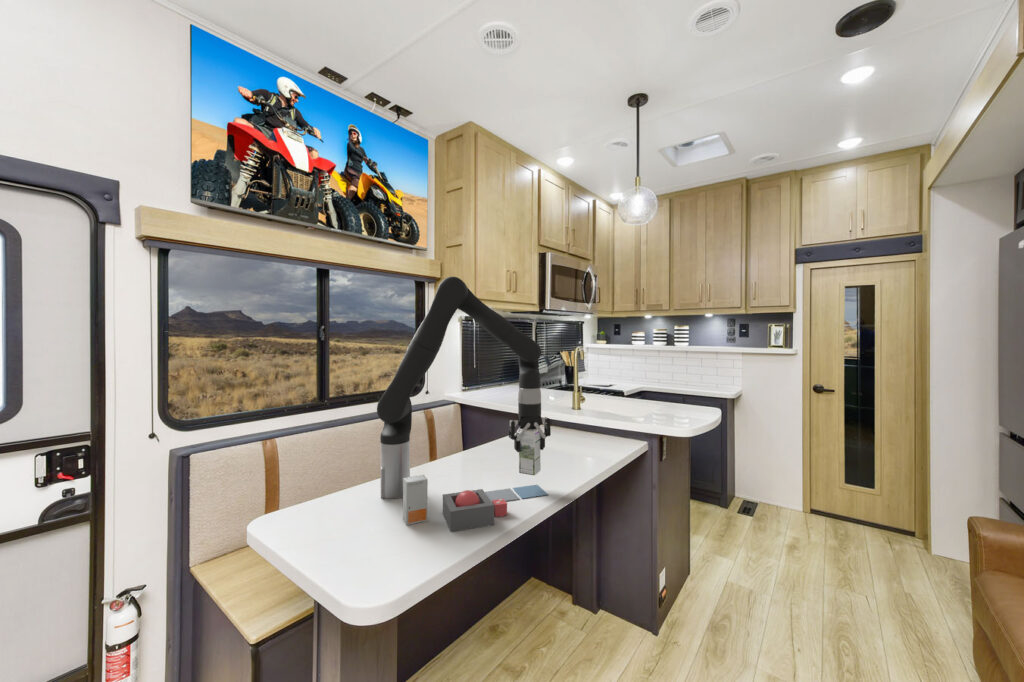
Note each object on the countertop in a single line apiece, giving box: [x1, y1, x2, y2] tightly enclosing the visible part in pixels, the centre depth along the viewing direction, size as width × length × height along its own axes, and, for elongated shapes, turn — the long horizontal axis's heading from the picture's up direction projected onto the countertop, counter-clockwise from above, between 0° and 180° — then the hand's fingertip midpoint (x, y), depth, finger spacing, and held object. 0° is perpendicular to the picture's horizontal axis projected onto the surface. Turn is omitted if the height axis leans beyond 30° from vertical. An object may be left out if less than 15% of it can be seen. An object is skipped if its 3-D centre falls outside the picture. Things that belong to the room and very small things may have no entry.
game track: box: [484, 484, 549, 502], centre depth 130 cm, size 30×9×1 cm, turn 110°
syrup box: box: [518, 429, 542, 476], centre depth 134 cm, size 6×6×14 cm
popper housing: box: [442, 488, 508, 533], centre depth 115 cm, size 17×12×6 cm
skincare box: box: [402, 474, 428, 526], centre depth 114 cm, size 6×4×12 cm
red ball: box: [455, 490, 480, 507], centre depth 114 cm, size 7×7×7 cm
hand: (529, 450), depth 134 cm, fingers closed on syrup box, 8 cm apart
